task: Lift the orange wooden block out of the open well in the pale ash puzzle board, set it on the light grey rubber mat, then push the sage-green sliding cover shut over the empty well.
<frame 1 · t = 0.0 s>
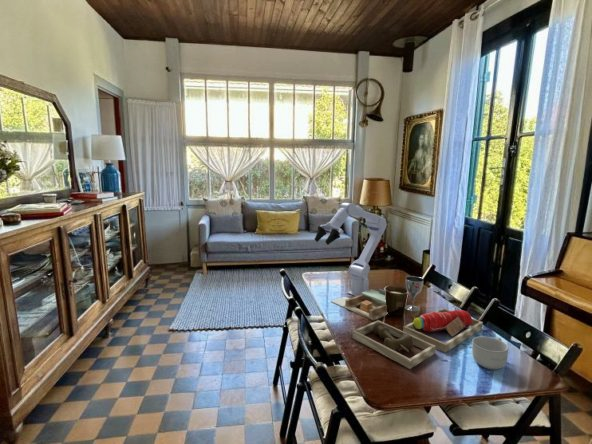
hand: (321, 241, 157), 32 cm above the table, tool tilted 50°, fingers open, 7 cm apart
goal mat: (343, 302, 167), on the table
teacup: (490, 363, 116), on the table
wine glass: (412, 308, 161), on the table
water bottle: (443, 331, 138), on the table, touching bottle frame
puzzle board: (366, 310, 158), on the table
kendama: (391, 346, 127), on the table
wooden block: (366, 310, 158), on the table
bottle frame: (443, 331, 138), on the table
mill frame: (392, 345, 127), on the table
slide cover: (379, 294, 163), point 6 cm above the table, slide at -9.5 cm
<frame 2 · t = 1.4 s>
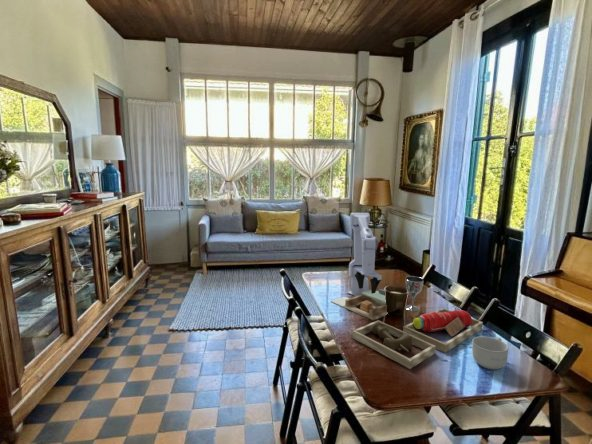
hand: (367, 290, 156), 10 cm above the table, tool pointing down, fingers open, 7 cm apart
nothing on the table moved.
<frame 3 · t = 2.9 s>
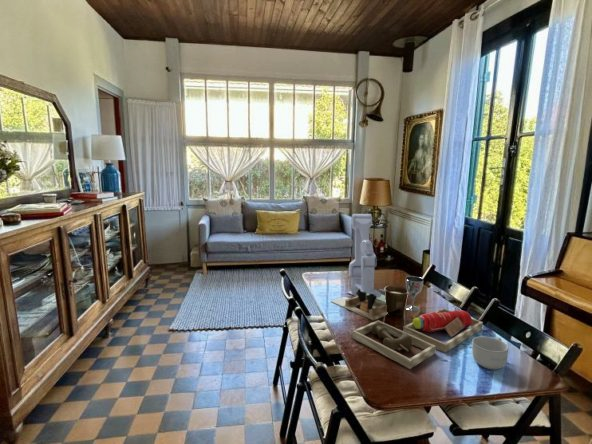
hand: (366, 307, 158), 2 cm above the table, tool pointing down, fingers closed on wooden block, 4 cm apart
wooden block: (366, 310, 158), on the table, touching gripper
everything else where it was.
when the fingers open (4 cm above the table, at t = 6.3 s): wooden block drops 1 cm, resting on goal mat.
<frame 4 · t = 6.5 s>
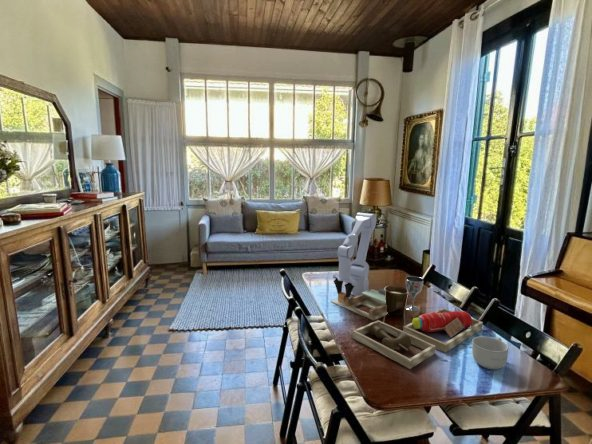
hand: (343, 295, 167), 4 cm above the table, tool pointing down, fingers open, 5 cm apart
wooden block: (343, 301, 167), resting on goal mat
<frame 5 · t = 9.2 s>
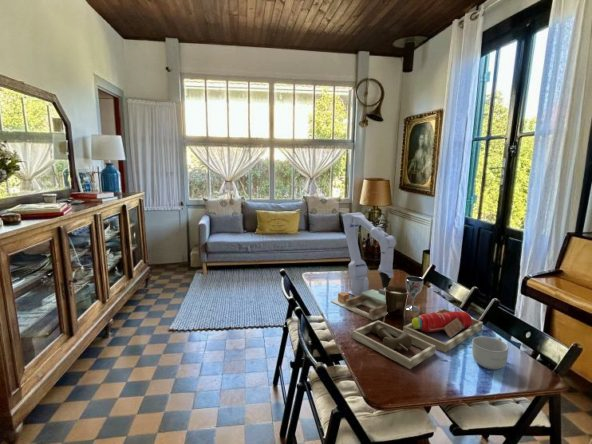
hand: (385, 287, 163), 9 cm above the table, tool pointing down, fingers closed
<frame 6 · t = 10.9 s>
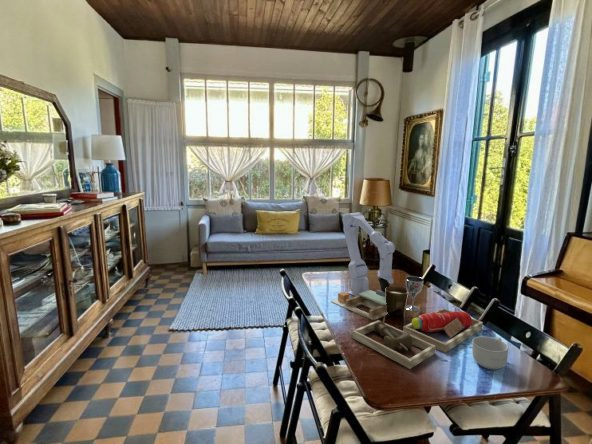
hand: (384, 292, 165), 6 cm above the table, tool pointing down, fingers closed
slide cover: (376, 295, 162), point 6 cm above the table, slide at -7.5 cm
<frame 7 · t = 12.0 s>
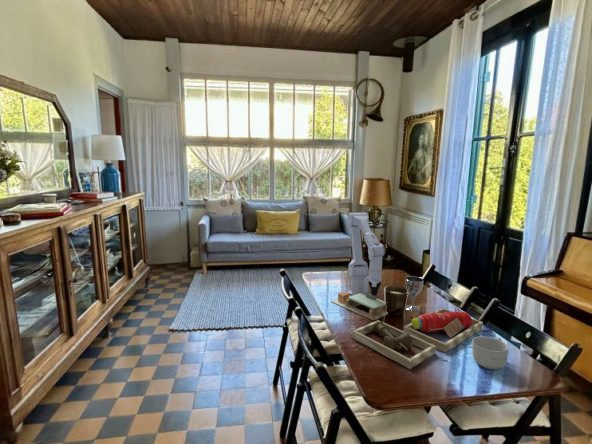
hand: (374, 296, 160), 6 cm above the table, tool pointing down, fingers closed
slide cover: (366, 299, 157), point 6 cm above the table, slide at 0.1 cm, touching gripper
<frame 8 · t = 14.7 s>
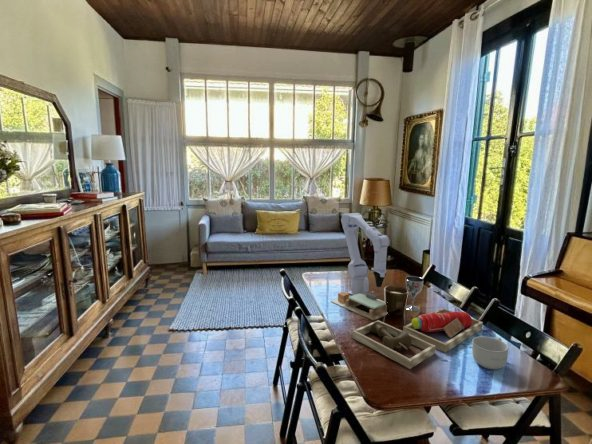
hand: (378, 286, 163), 9 cm above the table, tool pointing down, fingers closed
slide cover: (366, 299, 157), point 6 cm above the table, slide at 0.0 cm
at the end: wooden block inside the target area on the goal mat (0.1 cm from its centre), point 0.5 cm above the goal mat's base; wooden block tilted 0°; slide cover slide at 0.0 cm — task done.
